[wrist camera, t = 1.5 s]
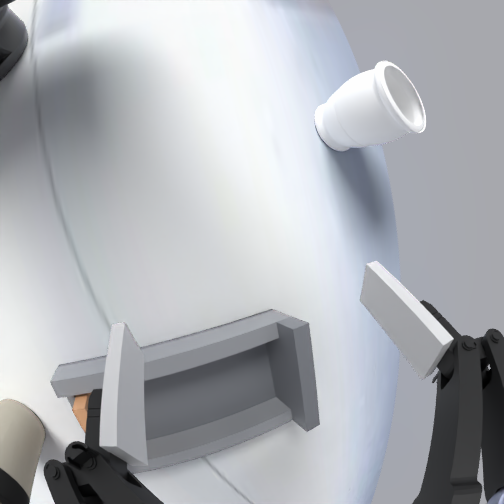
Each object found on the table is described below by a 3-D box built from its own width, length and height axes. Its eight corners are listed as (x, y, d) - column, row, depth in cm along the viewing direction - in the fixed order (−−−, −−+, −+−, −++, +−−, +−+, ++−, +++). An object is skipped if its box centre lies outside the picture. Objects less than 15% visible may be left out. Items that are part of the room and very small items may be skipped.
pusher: (79, 383, 24) (72, 410, 18) (90, 381, 24) (84, 408, 19) (112, 445, 24) (114, 474, 19) (122, 443, 25) (125, 473, 20)
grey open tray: (58, 364, 23) (42, 396, 16) (271, 309, 35) (308, 323, 27) (108, 455, 25) (110, 495, 17) (287, 399, 36) (319, 424, 29)
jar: (363, 154, 42) (434, 132, 29) (321, 162, 38) (402, 132, 25) (342, 100, 41) (406, 66, 27) (298, 99, 37) (366, 53, 23)
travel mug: (27, 395, 21) (-15, 488, 4) (55, 442, 21) (41, 539, 5) (-11, 399, 17) (-59, 474, 1) (16, 444, 18) (-8, 527, 2)
